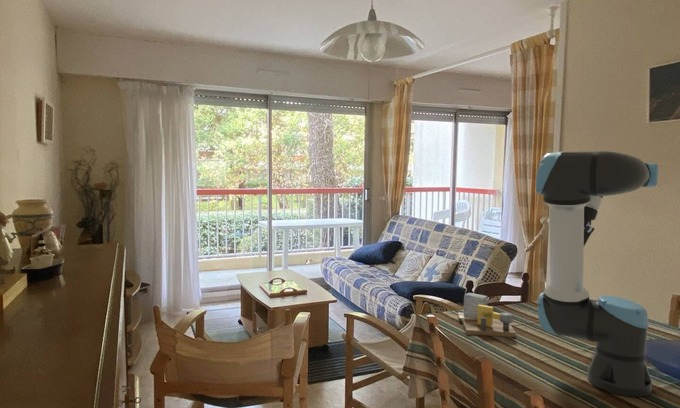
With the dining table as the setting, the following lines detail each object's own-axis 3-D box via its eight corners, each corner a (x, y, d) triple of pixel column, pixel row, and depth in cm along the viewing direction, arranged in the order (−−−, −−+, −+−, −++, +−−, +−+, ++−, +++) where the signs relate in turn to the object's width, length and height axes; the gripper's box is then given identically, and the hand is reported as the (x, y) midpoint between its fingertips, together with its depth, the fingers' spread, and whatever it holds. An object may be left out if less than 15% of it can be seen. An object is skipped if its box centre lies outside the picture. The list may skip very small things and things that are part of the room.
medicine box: (487, 317, 174) (488, 296, 174) (482, 320, 171) (483, 298, 170) (468, 313, 179) (468, 292, 179) (463, 316, 176) (463, 294, 175)
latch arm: (513, 328, 162) (514, 309, 161) (510, 332, 158) (511, 312, 158) (479, 321, 169) (480, 303, 168) (476, 325, 165) (476, 306, 165)
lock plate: (515, 337, 159) (516, 320, 159) (463, 334, 162) (463, 317, 161) (503, 318, 179) (504, 304, 178) (457, 316, 181) (457, 301, 181)
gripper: (608, 211, 154) (585, 276, 155) (584, 209, 167) (563, 269, 167) (589, 204, 154) (566, 269, 154) (566, 202, 166) (545, 262, 167)
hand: (564, 269), depth 161 cm, fingers closed
